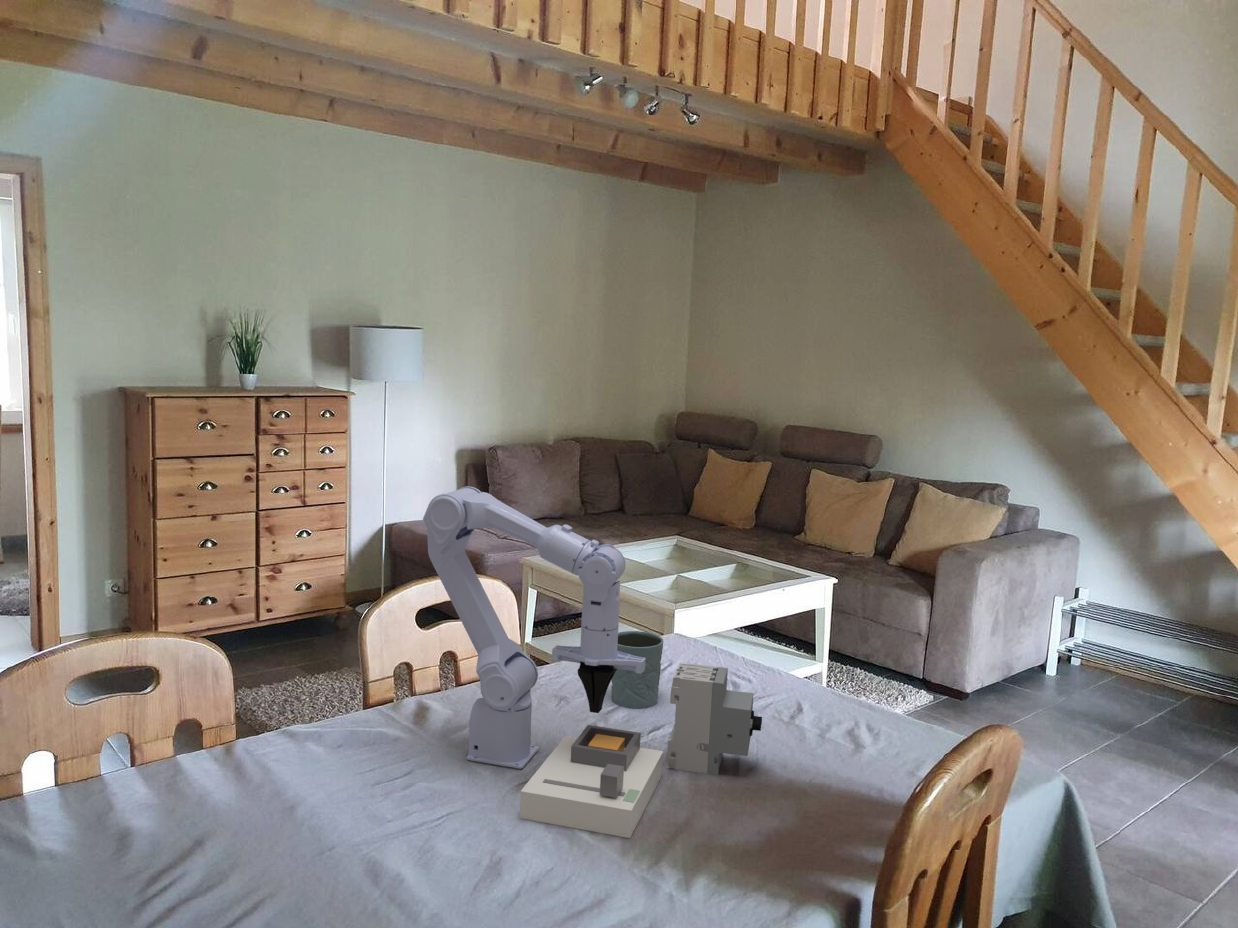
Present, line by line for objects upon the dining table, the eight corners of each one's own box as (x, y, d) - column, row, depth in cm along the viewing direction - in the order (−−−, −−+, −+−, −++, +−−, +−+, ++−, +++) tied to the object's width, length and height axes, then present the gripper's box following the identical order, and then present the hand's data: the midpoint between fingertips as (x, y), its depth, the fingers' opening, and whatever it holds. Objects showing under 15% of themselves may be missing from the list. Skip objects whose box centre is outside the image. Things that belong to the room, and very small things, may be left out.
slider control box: (519, 817, 134) (521, 773, 133) (564, 759, 153) (566, 720, 152) (630, 838, 130) (632, 792, 129) (661, 775, 149) (664, 735, 148)
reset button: (587, 757, 145) (587, 745, 144) (595, 745, 149) (596, 733, 149) (616, 762, 143) (617, 749, 143) (624, 750, 148) (624, 738, 148)
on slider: (599, 794, 133) (600, 774, 132) (606, 783, 136) (607, 763, 136) (616, 797, 132) (617, 777, 132) (623, 786, 136) (624, 766, 135)
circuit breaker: (756, 780, 149) (763, 688, 147) (666, 768, 152) (671, 677, 150) (759, 760, 156) (765, 672, 154) (673, 749, 159) (678, 662, 157)
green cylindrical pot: (660, 711, 175) (664, 648, 173) (605, 708, 175) (608, 645, 173) (659, 691, 185) (662, 631, 183) (607, 688, 185) (609, 628, 183)
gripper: (546, 626, 145) (542, 712, 147) (638, 639, 141) (633, 727, 143) (562, 614, 152) (558, 696, 153) (650, 626, 148) (646, 710, 149)
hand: (595, 710), depth 148 cm, fingers closed
